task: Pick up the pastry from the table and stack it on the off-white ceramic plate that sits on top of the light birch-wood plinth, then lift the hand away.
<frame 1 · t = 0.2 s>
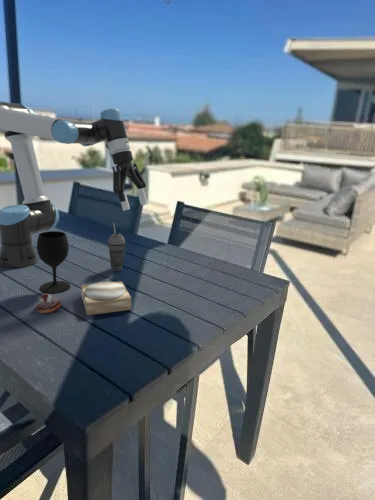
hand: (135, 207, 136), 28 cm above the table, tool tilted 20°, fingers open, 13 cm apart
beverage cup: (116, 269, 148), on the table
plinth: (105, 302, 118), on the table
wine glass: (55, 288, 127), on the table
pastry: (48, 309, 112), on the table
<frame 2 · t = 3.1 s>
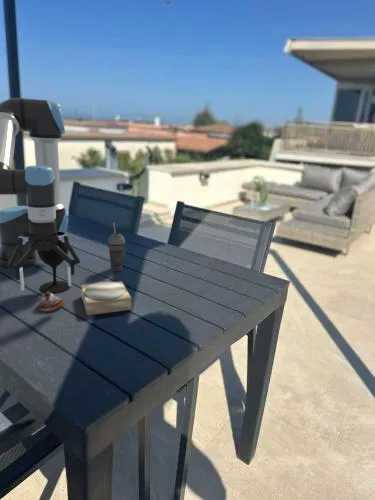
hand: (46, 286, 109), 8 cm above the table, tool pointing down, fingers open, 13 cm apart
pastry: (51, 307, 113), on the table
everything else where it was.
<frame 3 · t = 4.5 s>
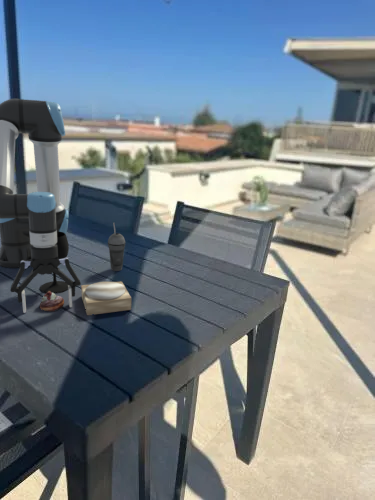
hand: (48, 308, 112), 0 cm above the table, tool pointing down, fingers open, 13 cm apart
nothing on the table moved.
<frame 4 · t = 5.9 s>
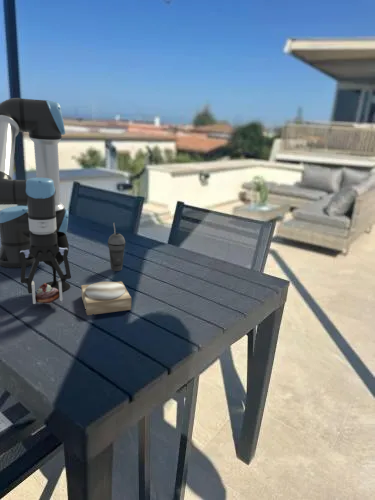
hand: (47, 300, 111), 3 cm above the table, tool pointing down, fingers closed on pastry, 7 cm apart
pastry: (47, 298, 113), point 2 cm above the table, touching gripper
everything else where it was.
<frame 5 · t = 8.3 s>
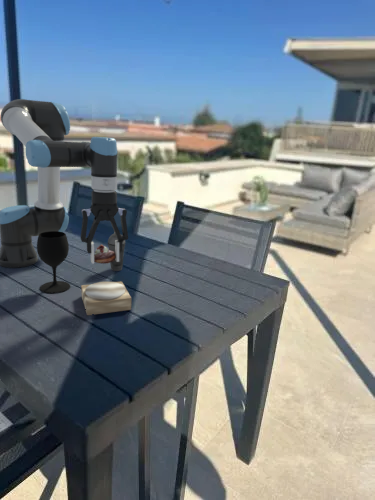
hand: (104, 261, 113), 15 cm above the table, tool pointing down, fingers closed on pastry, 7 cm apart
pastry: (104, 260, 115), point 14 cm above the table, touching gripper
everything else where it was.
when the fingers open (6 cm above the table, at t = 10.6 s): pastry stays where it is, resting on plinth.
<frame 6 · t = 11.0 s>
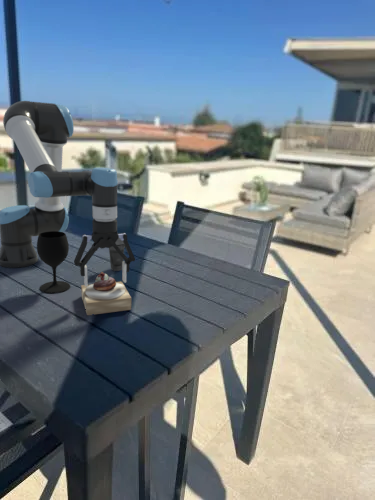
hand: (105, 282, 116), 7 cm above the table, tool pointing down, fingers open, 12 cm apart
pastry: (104, 287, 118), point 5 cm above the table, touching plinth
everything else where it was.
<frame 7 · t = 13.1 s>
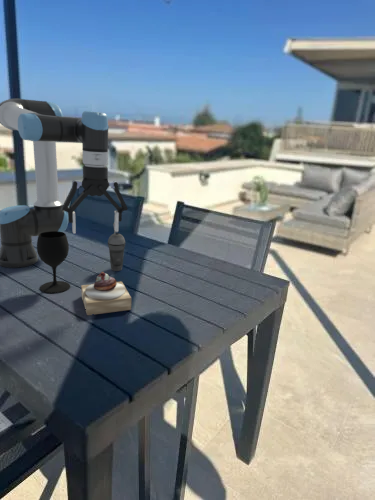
hand: (95, 231, 115), 23 cm above the table, tool pointing down, fingers open, 13 cm apart
nothing on the table moved.
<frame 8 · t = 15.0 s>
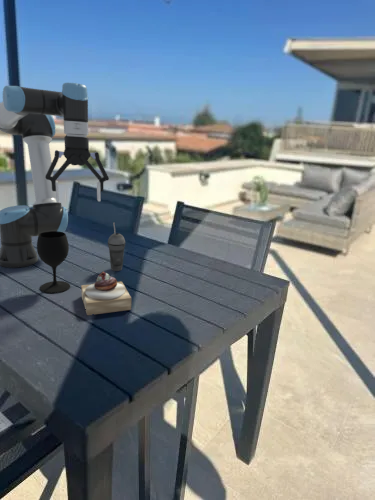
hand: (78, 201, 120), 32 cm above the table, tool pointing down, fingers open, 13 cm apart
nothing on the table moved.
at the end: pastry inside the target area on the plinth (2.4 cm from its centre), point 4.8 cm above the plinth's base; the gripper is holding nothing; pastry tilted 0° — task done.
